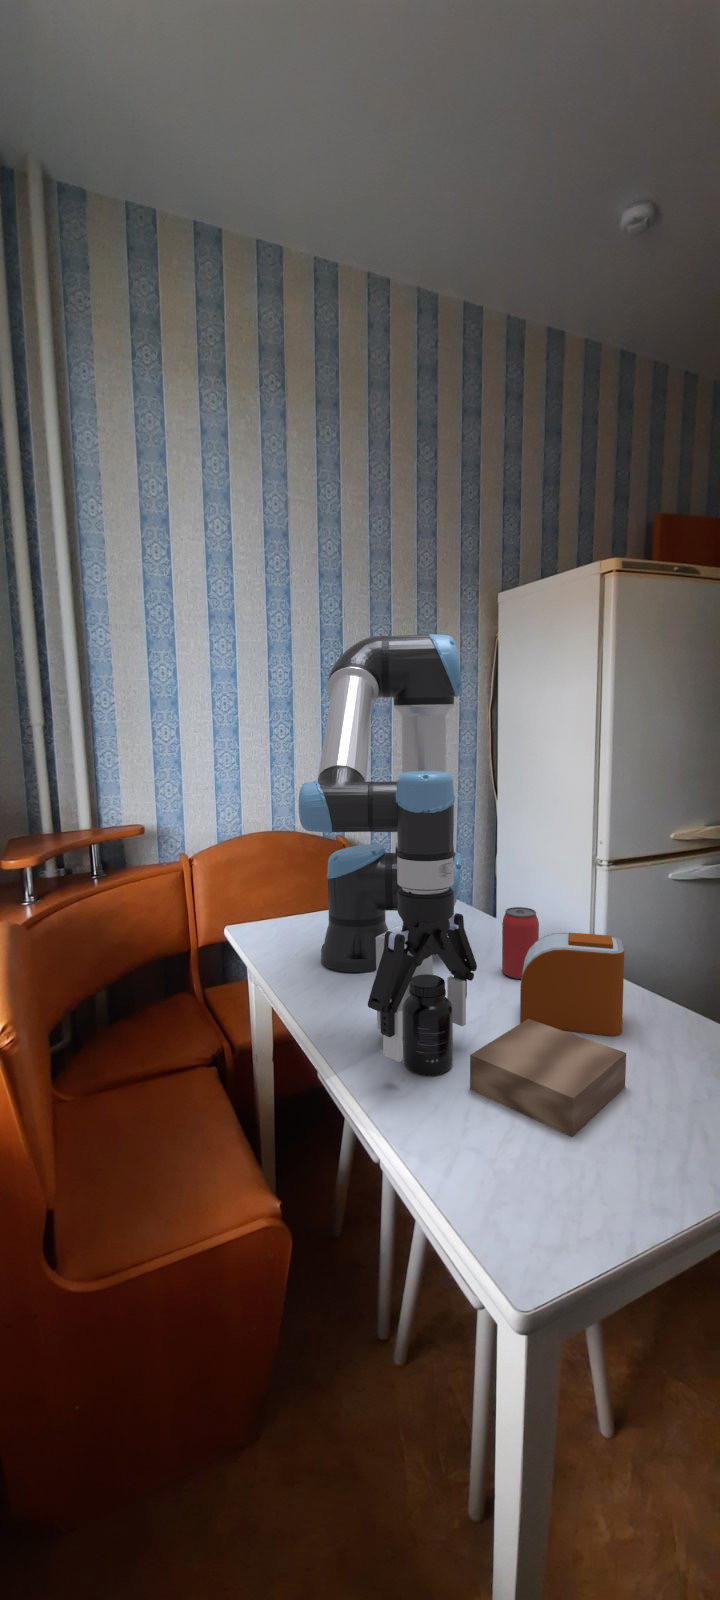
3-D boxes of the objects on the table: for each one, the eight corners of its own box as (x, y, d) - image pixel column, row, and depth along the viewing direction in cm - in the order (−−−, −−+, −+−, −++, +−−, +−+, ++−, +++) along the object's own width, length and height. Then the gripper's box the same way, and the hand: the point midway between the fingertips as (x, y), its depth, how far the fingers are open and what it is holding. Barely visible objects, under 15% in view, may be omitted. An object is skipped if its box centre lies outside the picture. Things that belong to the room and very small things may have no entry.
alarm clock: (618, 1013, 103) (621, 931, 102) (623, 1038, 95) (625, 949, 94) (523, 1003, 108) (524, 924, 106) (519, 1025, 100) (520, 940, 98)
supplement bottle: (399, 1053, 92) (398, 971, 91) (446, 1050, 92) (446, 969, 91) (407, 1079, 85) (406, 991, 84) (458, 1075, 86) (458, 989, 84)
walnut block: (470, 1091, 83) (470, 1054, 82) (527, 1052, 92) (528, 1018, 92) (572, 1140, 73) (573, 1098, 72) (625, 1089, 82) (626, 1052, 82)
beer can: (535, 967, 123) (535, 906, 122) (541, 980, 117) (542, 916, 115) (500, 966, 124) (500, 905, 123) (504, 980, 117) (504, 916, 116)
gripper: (381, 912, 75) (384, 1085, 77) (501, 875, 92) (500, 1017, 94) (337, 900, 80) (341, 1063, 82) (459, 868, 98) (459, 1003, 100)
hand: (426, 1039), depth 88 cm, fingers open, 13 cm apart
